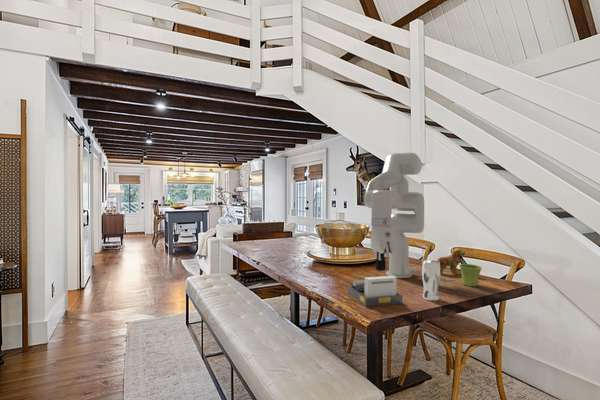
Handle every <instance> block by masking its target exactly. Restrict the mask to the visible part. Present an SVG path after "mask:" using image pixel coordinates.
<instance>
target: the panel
mask: <svg viewBox="0 0 600 400" xmlns="http://www.w3.org/2000/svg"><path fill="white" fill-rule="evenodd" d="M397 279H398V278H396V277H394V276H387V275H383V276H382V275H381V276H368V277H364V280H365V290H364V296H365V297H366V298H372V297H383V296H395V295H396V292H397Z"/></svg>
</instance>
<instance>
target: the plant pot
mask: <svg viewBox="0 0 600 400" xmlns="http://www.w3.org/2000/svg"><path fill="white" fill-rule="evenodd" d="M458 266H459V269H460V273H461V281H462V282H461V283H462V285H464V286H466V287H467V286H468V287H472V286H473V288H474V287H477V286H478V284H479V278H480V274H481V271H482V269H483V267H482V266H480V265H477V264H471V263H470V264H469V263H462V264H460V263H459V264H458Z"/></svg>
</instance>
